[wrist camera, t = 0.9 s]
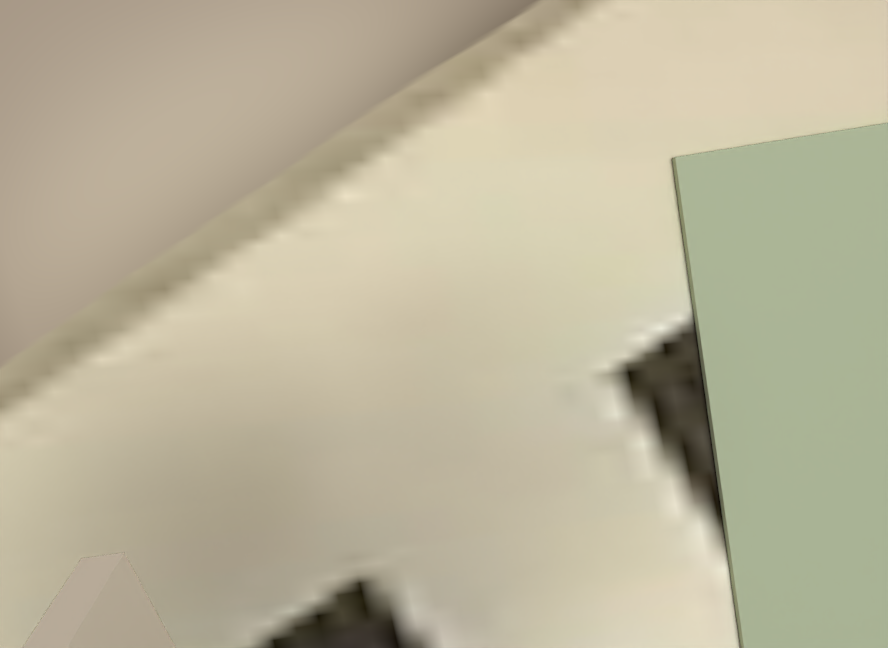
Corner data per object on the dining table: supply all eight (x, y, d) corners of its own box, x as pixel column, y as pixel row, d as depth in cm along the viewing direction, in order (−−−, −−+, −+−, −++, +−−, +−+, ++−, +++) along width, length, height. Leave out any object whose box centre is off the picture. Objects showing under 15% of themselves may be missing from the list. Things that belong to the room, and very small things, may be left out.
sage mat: (971, 736, 34) (978, 742, 33) (758, 776, 33) (762, 782, 33) (898, 122, 32) (904, 120, 31) (671, 158, 31) (675, 157, 31)
